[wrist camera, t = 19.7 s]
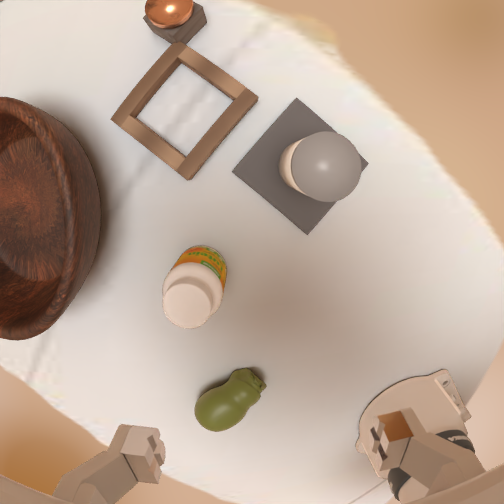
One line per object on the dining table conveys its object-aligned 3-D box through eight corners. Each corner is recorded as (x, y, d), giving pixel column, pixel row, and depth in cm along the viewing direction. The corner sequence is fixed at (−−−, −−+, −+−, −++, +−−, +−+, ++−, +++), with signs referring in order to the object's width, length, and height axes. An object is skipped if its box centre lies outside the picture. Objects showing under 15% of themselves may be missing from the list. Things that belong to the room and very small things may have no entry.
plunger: (207, 19, 26) (201, -3, 22) (179, 47, 27) (168, 29, 22) (177, 1, 26) (167, -21, 21) (149, 29, 26) (135, 10, 22)
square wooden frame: (281, 74, 29) (286, 63, 25) (190, 179, 32) (183, 181, 28) (178, 6, 27) (171, -11, 23) (94, 103, 29) (77, 97, 25)
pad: (366, 163, 32) (368, 163, 31) (306, 233, 33) (307, 235, 33) (295, 98, 30) (296, 97, 29) (232, 171, 32) (231, 171, 31)
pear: (184, 422, 33) (247, 373, 34) (186, 398, 39) (242, 353, 39) (217, 445, 35) (279, 401, 35) (215, 421, 40) (270, 379, 40)
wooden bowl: (103, 331, 36) (68, 378, 26) (-29, 269, 34) (-73, 292, 24) (147, 126, 30) (108, 112, 20) (-7, 99, 28) (-59, 92, 18)
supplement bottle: (233, 254, 34) (229, 288, 25) (218, 298, 35) (209, 344, 26) (185, 237, 33) (162, 265, 24) (171, 283, 35) (147, 323, 25)
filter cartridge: (337, 163, 31) (374, 164, 21) (306, 200, 32) (331, 216, 22) (299, 131, 30) (322, 117, 20) (268, 169, 31) (277, 170, 21)
